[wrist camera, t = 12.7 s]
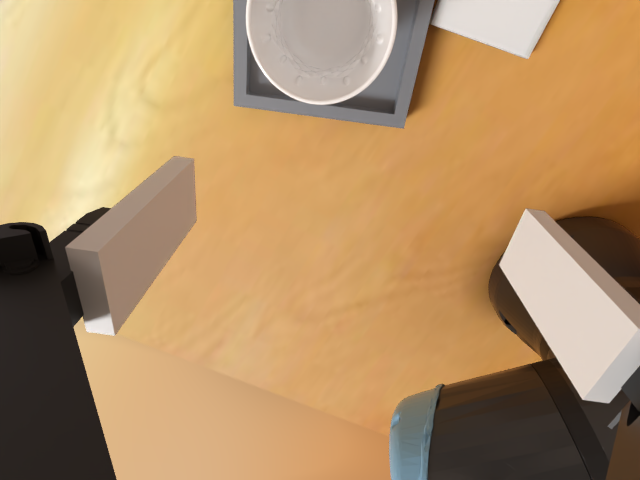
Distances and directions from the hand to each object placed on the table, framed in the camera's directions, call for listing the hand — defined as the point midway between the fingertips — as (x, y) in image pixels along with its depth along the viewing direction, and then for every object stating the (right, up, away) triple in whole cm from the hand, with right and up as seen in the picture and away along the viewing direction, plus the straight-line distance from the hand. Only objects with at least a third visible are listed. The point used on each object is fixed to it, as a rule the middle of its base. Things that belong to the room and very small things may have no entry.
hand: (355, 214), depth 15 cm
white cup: (-1, +16, +13) cm, 20 cm away
